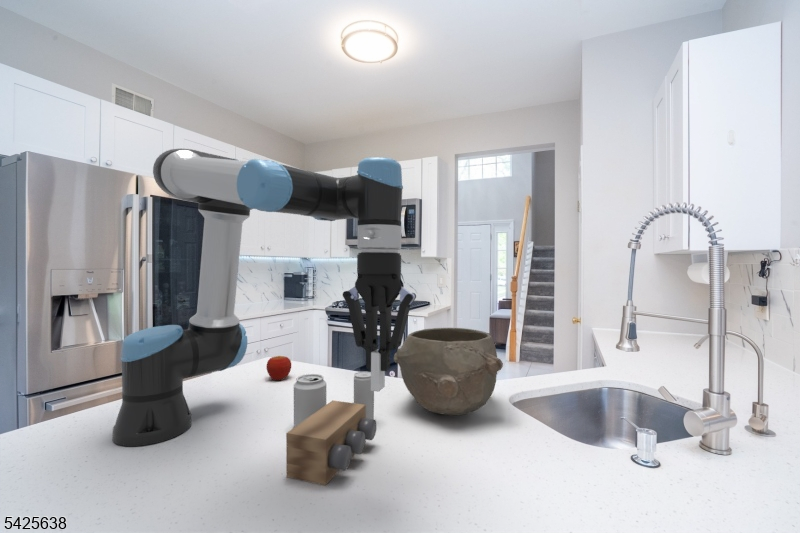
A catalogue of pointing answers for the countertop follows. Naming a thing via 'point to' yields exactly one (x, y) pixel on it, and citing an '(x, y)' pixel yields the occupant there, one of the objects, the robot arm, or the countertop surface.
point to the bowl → (449, 368)
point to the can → (308, 396)
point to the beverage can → (364, 392)
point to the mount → (320, 440)
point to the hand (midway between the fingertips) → (377, 388)
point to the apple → (278, 367)
